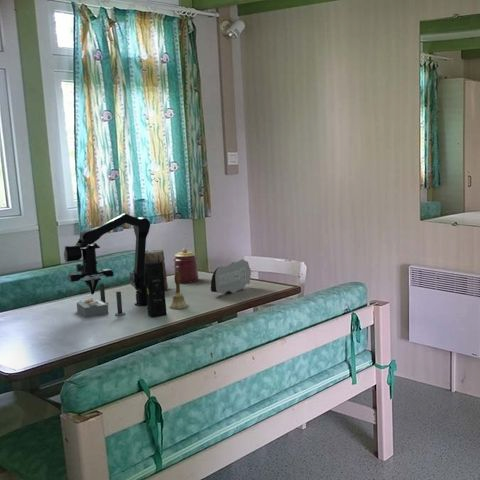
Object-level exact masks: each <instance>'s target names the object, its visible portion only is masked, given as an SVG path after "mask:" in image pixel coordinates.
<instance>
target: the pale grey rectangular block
mask: <svg viewBox="0 0 480 480" xmlns="http://www.w3.org/2000/svg"><path fill="white" fill-rule="evenodd" d="M88 300H94V298H93V297H92V296H91V297H89V298H86V299H84V301H85V302H86V303H87V302H88Z"/></svg>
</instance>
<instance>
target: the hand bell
mask: <svg viewBox="0 0 480 480" xmlns="http://www.w3.org/2000/svg"><path fill="white" fill-rule="evenodd" d="M174 277H175V278H174V283H175V287H176V288H175V294H173V295H172V303H171V304H170V305H169V309H172V310H174V309H176V310H180V309H185V308H188V307H189V304H188V303H187V302H186V301H185V297H184V294H183V293H181V287H180V285H181V283H180V274H179V271H176V273H175V274H174Z"/></svg>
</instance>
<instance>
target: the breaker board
mask: <svg viewBox="0 0 480 480" xmlns="http://www.w3.org/2000/svg"><path fill="white" fill-rule="evenodd" d="M96 300H97V301H98V303H97V304H95V305H92V306H91V305H90V303H89V302H87V303H86V302H85V300H84V301H79V302H78V301H77V302H76V309H77V310H76V311H77V313H79V314H80V313H81V314H80V315H82V316H83V317H85V318H89V317H94V316H95V317H97V316H103V315H107V314H109V303H108V304H106V303H104V302H103V301H101V299H96Z"/></svg>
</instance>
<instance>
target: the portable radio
mask: <svg viewBox="0 0 480 480" xmlns="http://www.w3.org/2000/svg"><path fill="white" fill-rule="evenodd" d="M144 269H145V272H144V285H145V286H146V294H147V305H146V308H147V316H149V317H151V318H154V317H155V318H157V317H163V316H167V305H166V304H167V303H166V293H165V289H164V275H163V262H161V261H160V259H159V256H158V261H154V262H146V263H144Z"/></svg>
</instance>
